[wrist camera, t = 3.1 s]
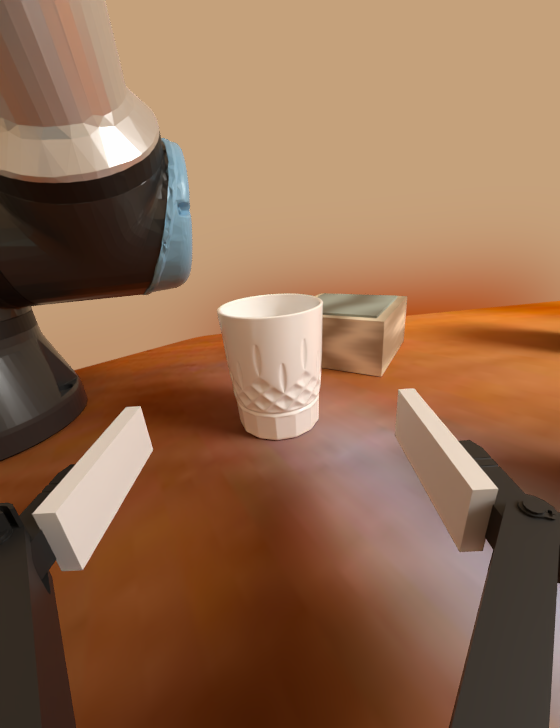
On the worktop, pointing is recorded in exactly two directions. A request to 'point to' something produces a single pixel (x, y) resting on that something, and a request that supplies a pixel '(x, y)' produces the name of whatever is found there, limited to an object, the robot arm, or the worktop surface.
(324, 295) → the stand
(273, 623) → the worktop surface
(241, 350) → the white cup
